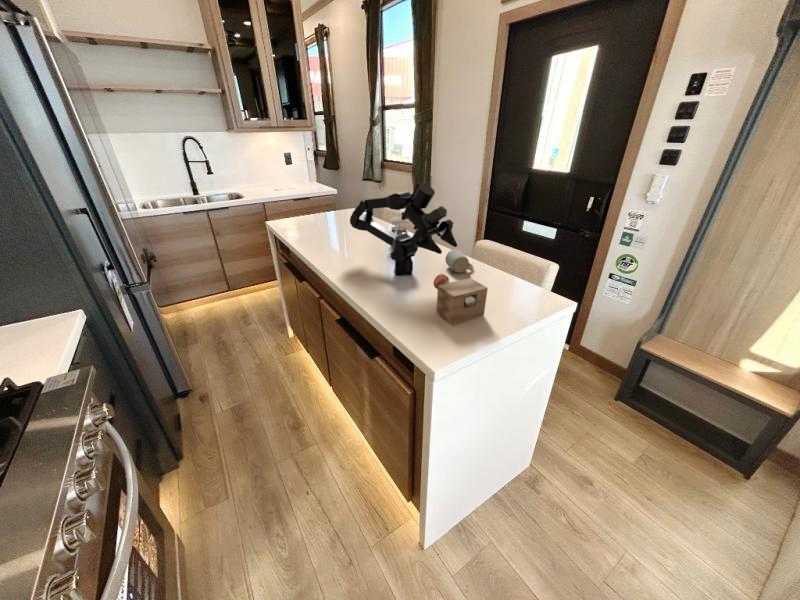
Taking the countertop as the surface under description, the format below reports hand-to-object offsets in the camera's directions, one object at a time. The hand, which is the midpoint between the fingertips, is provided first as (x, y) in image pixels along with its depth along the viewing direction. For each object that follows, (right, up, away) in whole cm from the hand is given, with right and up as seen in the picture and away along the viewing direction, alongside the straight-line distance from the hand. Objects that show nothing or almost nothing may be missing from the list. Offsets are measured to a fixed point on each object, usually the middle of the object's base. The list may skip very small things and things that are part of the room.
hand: (449, 249), depth 108 cm
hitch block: (+2, -22, -10) cm, 24 cm away
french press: (-17, +8, +45) cm, 49 cm away
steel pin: (0, -17, -9) cm, 19 cm away
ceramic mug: (+8, -5, +22) cm, 24 cm away
